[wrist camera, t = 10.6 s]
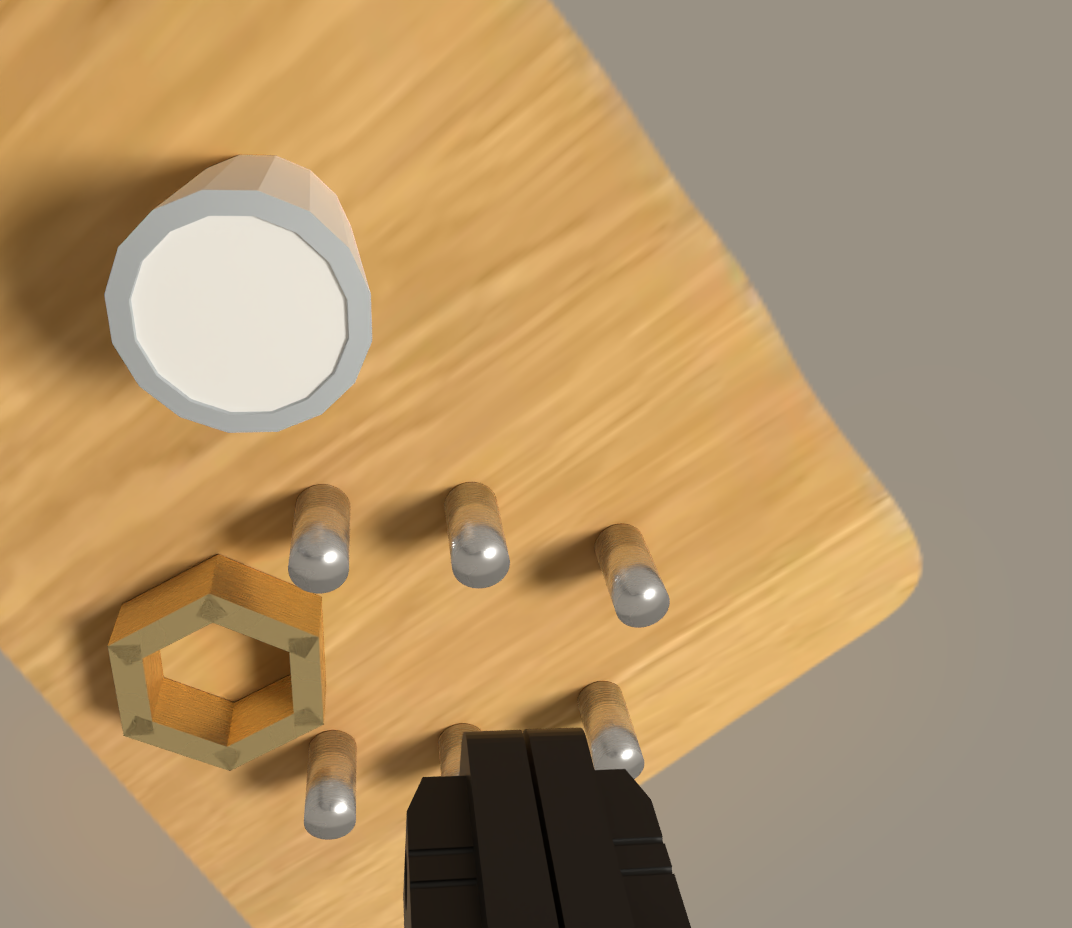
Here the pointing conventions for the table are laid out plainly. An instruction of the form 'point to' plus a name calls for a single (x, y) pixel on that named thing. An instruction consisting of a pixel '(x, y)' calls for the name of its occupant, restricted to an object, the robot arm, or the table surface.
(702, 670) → the table surface
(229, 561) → the tan hexagonal ring
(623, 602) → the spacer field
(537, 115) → the table surface
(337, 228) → the white cup
